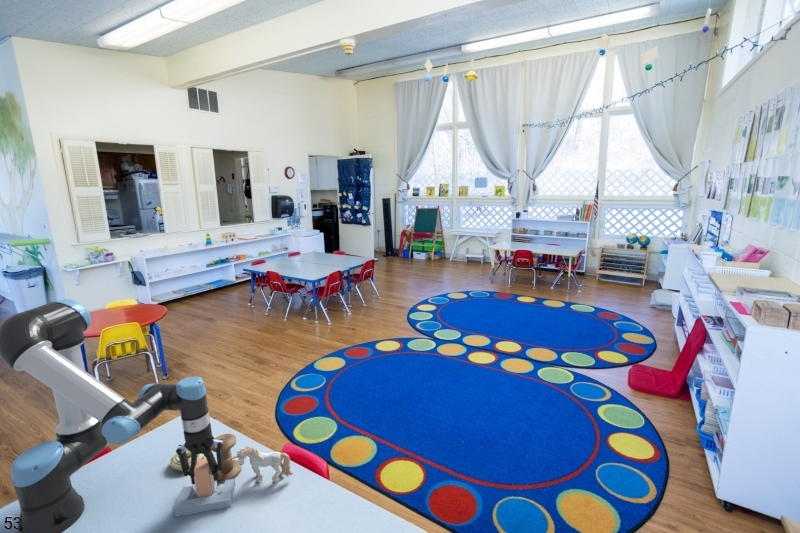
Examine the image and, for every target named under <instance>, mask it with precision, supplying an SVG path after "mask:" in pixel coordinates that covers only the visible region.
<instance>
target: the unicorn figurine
mask: <svg viewBox="0 0 800 533" xmlns="http://www.w3.org/2000/svg"><path fill="white" fill-rule="evenodd" d="M236 453H237V454H236V455H235V456H232V458H229V459H227V460H230V459H232V460H235V459H237V458H238V461H239V465H241V466H243V465H244V464H245V459H247V457H248V458H249V464H250V465H251V468H252V470H253V472H254V473H255V474H256V476H257V478H256V480H255V482H254V483H255V484H259V483H260V481H261V482H263V475H262V474H261V473H260V472H261V471H260V469H259V468H268V467H269V466H270V467H271V468H273V470H274V471H275V474H273V476H271V481H272V484H275V483H276V482H277V480H278V477H279V478H282V477H283V476H284V475H285V476H286V477H289V476H292V475H294V472H293V471H292V470H291V469H292V467H291V458H290V456H289V454H287V453H285V452H281V451H273V452H272V451H271V452H261V451H260V450H258V448H255V446H248V445H247V446H244V447H242V448H241V449H239V450H236ZM279 467H280V468H281V470H280V468H279Z"/></svg>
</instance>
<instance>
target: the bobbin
mask: <svg viewBox="0 0 800 533" xmlns="http://www.w3.org/2000/svg"><path fill="white" fill-rule="evenodd" d="M214 439H216V440H220V439H223V443H222V451H223V462H224V464H223V468H222V470H221V471H218V473H219V477H218V480H217V482H220V483H225V480H230V479H236V477H237V476H239V474H240V473H241V472H242V465H239V460H236V459H230V460H227V459H229V458H232V457H233V455H232V448H233V447H234V446H235V445H236V444H237V437H236V436H235V434H233V433H223V434H220V435H218V436H216V437H214ZM211 451H212V452H213V453H216V448H215V445H214V444H212V446H211Z"/></svg>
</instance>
